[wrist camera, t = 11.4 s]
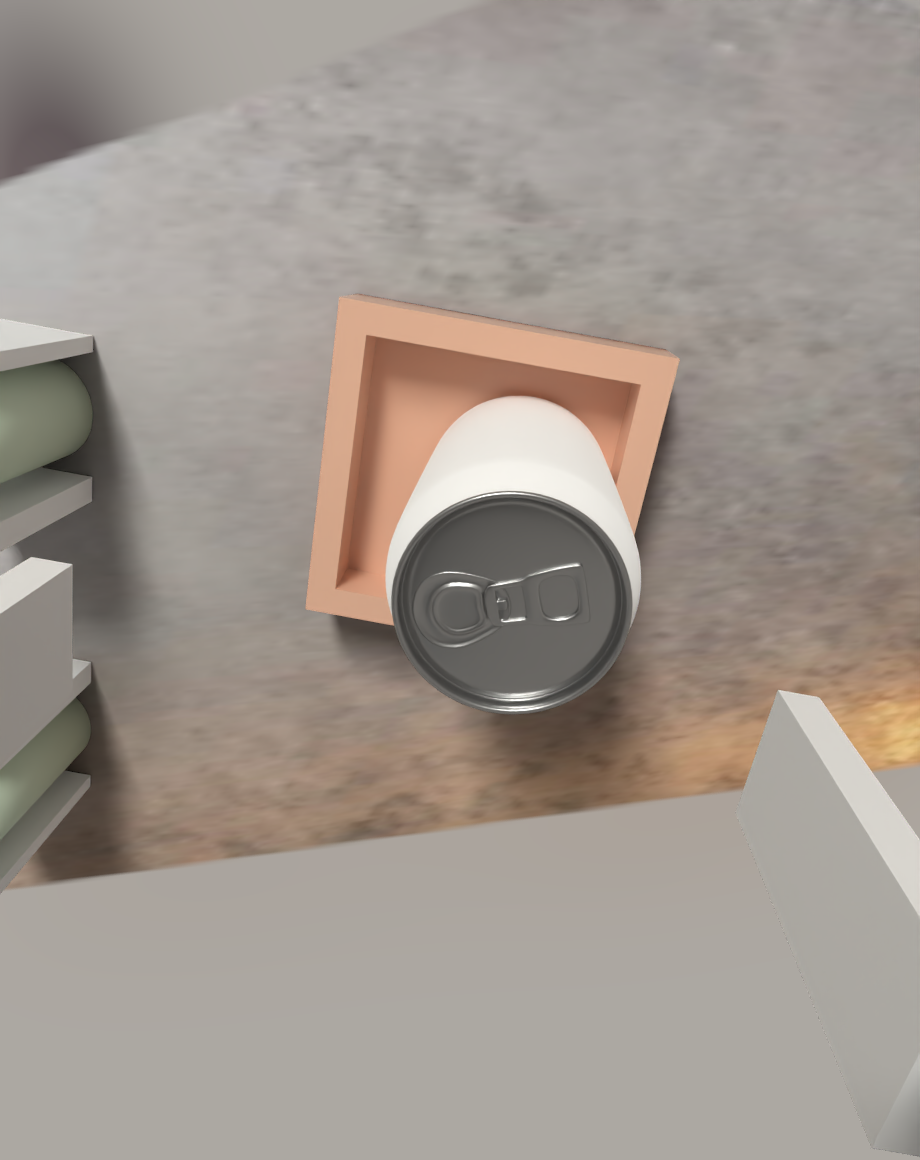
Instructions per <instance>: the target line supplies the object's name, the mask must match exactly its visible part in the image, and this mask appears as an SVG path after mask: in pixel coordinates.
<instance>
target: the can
mask: <svg viewBox="0 0 920 1160" xmlns="http://www.w3.org/2000/svg"><path fill="white" fill-rule="evenodd" d="M385 581H386V593H387V599H388V604H389V608H390V611H391V614H392V617H393V623H394V627H395V631H396V634H397V637H398V640H399V642H400V644H401V647H402V649H403V651H404V652H405V654H406V656H407V658H408V659H409V661H410V662H411V664H412V665H413V666H414V668H415V669H416V670H417V671H418V672H419V673H420V675H421V676H422V677H423V678H424V679H425V680H426V681H427V682H429V683H430V684H431V685H432V686H433V687H435V688H436V689H437V690H439V691H440V692H441V693H443V694H444V695H446V696H448V697H449V698H451V699H453V700H455V701H457V702H459V703H461V704H464V705H466V706H469V707H472V708H475V709H478V710H482V711H487V712H492V713H500V714H526V713H534V712H539V711H544V710H548V709H551V708H554V707H557V706H560V705H562V704H564V703H567V702H569V701H571V700H573V699H575V698H576V697H578V696H580V695H581V694H583V693H584V692H586V691H587V690H588V689H590V688H591V687H592V686H594V685H595V684H596V683H597V682H598V681H599V680H600V679H601V678H602V677H603V676H604V675H605V674H606V673H607V672H608V670H609V669H610V668H611V666H612V665H613V664H614V662H615V661H616V659H617V657H618V656H619V654H620V652H621V650H622V648H623V646H624V644H625V641H626V638H627V636H628V632H629V629H630V627H631V625H632V623H633V620H634V618H635V615H636V611H637V608H638V604H639V599H640V592H641V566H640V558H639V553H638V548H637V545H636V541H635V538H634V534H633V531H632V528H631V526H630V523H629V520H628V517H627V515H626V512H625V509H624V507H623V504H622V501H621V499H620V496H619V493H618V491H617V488H616V485H615V483H614V480H613V478H612V475H611V473H610V470H609V468H608V465H607V463H606V460H605V458H604V455H603V453H602V451H601V449H600V447H599V445H598V443H597V441H596V439H595V438H594V436H593V435H592V433H591V432H590V430H589V429H588V428H587V427H586V426H585V425H584V424H583V422H582V421H580V420H579V419H578V418H577V417H576V416H575V415H574V414H572V413H571V412H569V411H568V410H566V409H565V408H563V407H561V406H559V405H557V404H555V403H553V402H550V401H548V400H545V399H541V398H537V397H531V396H506V397H500V398H496V399H492V400H489V401H486V402H484V403H481V404H479V405H477V406H475V407H473V408H472V409H470V410H468V411H467V412H466V413H464V414H463V415H462V416H460V417H459V418H458V419H457V420H456V421H455V422H454V423H453V424H452V425H451V426H450V427H449V428H448V430H447V431H446V432H445V433H444V435H443V436H442V438H441V439H440V441H439V443H438V444H437V446H436V448H435V450H434V452H433V454H432V455H431V457H430V459H429V461H428V463H427V465H426V467H425V469H424V471H423V473H422V475H421V477H420V479H419V481H418V483H417V485H416V487H415V489H414V491H413V493H412V495H411V497H410V499H409V501H408V503H407V505H406V507H405V509H404V511H403V513H402V515H401V518H400V520H399V522H398V524H397V527H396V529H395V532H394V534H393V537H392V540H391V543H390V547H389V551H388V556H387V563H386V577H385Z"/></svg>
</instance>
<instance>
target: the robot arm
mask: <svg viewBox="0 0 920 1160" xmlns="http://www.w3.org/2000/svg"><path fill="white" fill-rule="evenodd" d="M72 696H73V564H68V563H62V562H57V561H51V560H46V559H40V558H34V557H30V558H29V559H27V560H26V561H24V562H22V563H21V564H19V565H17V566H16V567H14V568H12V569H11V570H9V571H8V572H6V573H4V574H3V575H1V576H0V766H1V765H2V764H3V763H4V762H5V761H6V760H7V759H8V758H9V757H10V756H11V755H12V754H14V753H15V752H16V751H17V750H18V749H19V748H20V747H21V746H22V745H23V744H24V743H25V742H26V741H27V740H28V739H29V738H30V737H31V736H32V735H33V734H34V733H35V732H36V731H37V730H38V729H39V728H40V727H41V726H42V725H43V724H44V723H45V722H46V721H47V720H48V719H49V718H50V717H51V716H52V715H53V714H54V713H55V712H56V711H57V710H58V709H59V708H60V707H61V706H62V705H63V704H64V703H65V702H66V701H68V700H69V699H70V698H71V697H72ZM736 815H737V818H738V821H739V823H740V825H741V828H742V830H743V833H744V835H745V838H746V840H747V842H748V845H749V847H750V850H751V853H752V855H753V857H754V860H755V862H756V865H757V867H758V870H759V872H760V874H761V877H762V880H763V882H764V885H765V887H766V889H767V892H768V894H769V897H770V899H771V902H772V904H773V907H774V909H775V911H776V914H777V916H778V919H779V921H780V924H781V926H782V929H783V931H784V934H785V936H786V939H787V941H788V944H789V946H790V949H791V951H792V953H793V956H794V958H795V961H796V963H797V966H798V968H799V971H800V973H801V975H802V978H803V981H804V983H805V985H806V988H807V990H808V993H809V995H810V998H811V1000H812V1003H813V1005H814V1008H815V1010H816V1013H817V1015H818V1018H819V1020H820V1022H821V1025H822V1027H823V1030H824V1032H825V1035H826V1037H827V1040H828V1042H829V1044H830V1047H831V1050H832V1052H833V1054H834V1057H835V1059H836V1062H837V1064H838V1067H839V1069H840V1072H841V1074H842V1077H843V1079H844V1081H845V1084H846V1086H847V1089H848V1091H849V1094H850V1096H851V1099H852V1101H853V1104H854V1106H855V1109H856V1111H857V1114H858V1116H859V1118H860V1121H861V1123H862V1126H863V1128H864V1131H865V1133H866V1136H867V1138H868V1141H869V1143H870V1145H871V1148H873V1149H879V1150H885V1151H891V1152H896V1153H902V1154H908V1155H913V1156H919V1157H920V839H919V838H918V837H917V835H916V834H915V832H914V831H913V829H912V828H911V827H910V825H909V824H908V823H907V821H906V820H905V818H904V817H903V816H902V814H901V813H900V811H899V810H898V808H897V807H896V805H895V804H894V803H893V801H892V800H891V798H890V797H889V796H888V794H887V793H886V791H885V790H884V788H883V787H882V786H881V784H880V783H879V781H878V780H877V779H876V777H875V776H874V774H873V773H872V772H871V770H870V769H869V767H868V766H867V764H866V763H865V762H864V760H863V759H862V757H861V756H860V755H859V753H858V752H857V750H856V749H855V747H854V746H853V745H852V743H851V742H850V740H849V739H848V738H847V736H846V735H845V733H844V732H843V731H842V729H841V728H840V726H839V725H838V723H837V722H836V721H835V719H834V718H833V716H832V715H831V714H830V712H829V711H828V709H827V708H826V706H825V705H824V704H823V702H822V701H821V699H820V698H819V697H815V696H809V695H803V694H798V693H792V692H787V691H781V690H778V691H777V694H776V697H775V700H774V703H773V706H772V709H771V712H770V715H769V717H768V720H767V723H766V726H765V729H764V732H763V735H762V738H761V741H760V743H759V746H758V749H757V752H756V755H755V758H754V761H753V764H752V767H751V770H750V772H749V775H748V778H747V781H746V784H745V787H744V790H743V793H742V796H741V798H740V801H739V804H738V807H737V810H736Z"/></svg>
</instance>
